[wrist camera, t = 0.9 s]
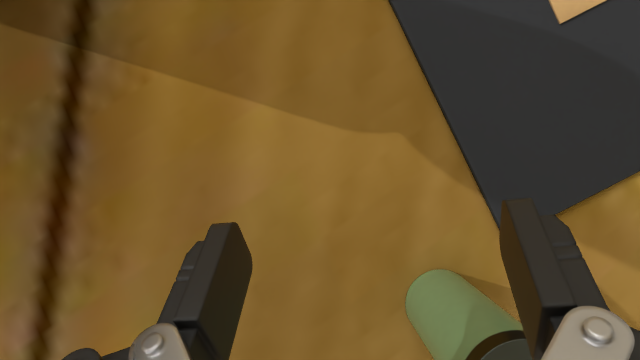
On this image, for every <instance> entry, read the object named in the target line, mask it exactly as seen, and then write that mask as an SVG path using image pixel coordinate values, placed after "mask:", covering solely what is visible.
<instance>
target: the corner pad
mask: <svg viewBox="0 0 640 360" xmlns="http://www.w3.org/2000/svg"><path fill="white" fill-rule="evenodd" d="M604 1H606V0H549V3H550V5H551V7H552V9H553V11H554V14H555V16H556V18H557V20H558V22H559V24H561V23H563V22H565V21H567V20H569V19H571V18H573V17H575V16H577V15H578V14H580V13H582V12H584V11H586V10H588V9H590V8H592V7H594V6H596V5H598V4H600V3H602V2H604Z"/></svg>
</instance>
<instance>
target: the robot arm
mask: <svg viewBox="0 0 640 360" xmlns="http://www.w3.org/2000/svg"><path fill="white" fill-rule="evenodd" d="M499 239H500V250H501V256H502V260H503V263H504V266H505V270H506V273H507V277H508V280H509V283H510V287H511V290H512V293H513V297H514V300H515V303H516V307H517V310H518V313H519V317H520V320H521V323H522V327H523V330H524V333H525V337H526V340H527V343H528V347H529V350H530V353H531V357H532V360H640V331H638V330H636V329H634V328H632V327H630V326H628V325H627V324H626V322H625V321H624V320H622V319H621V318H620V317H619V316H617V315H616V314H614V313H612V312H611V311H610V310H609V308H608V307H607V305H606V303H605V301H604V299H603V297H602V295H601V293H600V291H599V289H598V287H597V285H596V283H595V281H594V278H593V276H592V274H591V272H590V270H589V268H588V266H587V264H586V262H585V260H584V258H582V254H581V252H580V250H579V248H578V246H576V241H575V239H574V237H573V235H572V233H571V231H570V229H569V227H568V226H566V225H565V224H564V223H563V222H562V221H561V220H560V219H558V218H557V217H556V216H555V215H542V216H540V215H539V213H538V211H537V208H536V206H535V204H534V201H533V200H532V198H522V199H510V200H503V201H502V206H501V221H500V238H499ZM251 274H252V257H251V254H250V251H249V249H248V247H247V244H246V242H245V240H244V237H243V235H242V233H241V230H240V228H239V226H238V224H237V223H235V222H231V223H219V224H212V225H211V226H210V228H209V230H208V233H207V235H206V238H205V240H204V241H198V242H197V243H196V244H195V245H194V246H193V247H192V248H191V249H190V251H189V252H188V253H187V254H186V256H185V259H184V261H183V263H182V266H181V270H179V273H178V275H177V277H176V282H174V284H173V287H172V289H171V291H170V294H169V296H168V298H167V301H166V303H165V305H164V308H163V310H162V312H161V315H160V317H159V319H158V321H157V323H156V325H153V326H151V327H149V328H147V329H146V330H144V331H143V332H142V333H140V334H139V335H138V337H137V338H136V339H135V340H134V342H133V343H132V345H131V347H128V348H126V349H123V350H120V351H117V352H114V353H111V354H108V355H105V356H102V357H101V356H100V355H99V354H98V352H96V351H95V350H94V349H91V348H83V349H79V350H76V351H74V352H72V353H70V354H69V355H67V356H66V357H64V358H63V359H62V360H229V356H230V353H231V349H232V345H233V341H234V338H235V334H236V330H237V326H238V323H239V319H240V315H241V311H242V308H243V304H244V300H245V296H246V293H247V289H248V285H249V281H250V278H251Z"/></svg>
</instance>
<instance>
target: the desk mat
mask: <svg viewBox="0 0 640 360" xmlns="http://www.w3.org/2000/svg"><path fill="white" fill-rule="evenodd" d="M389 2H390V4H391V6H392V8H393V10H394V13H395V15H396V17H397V19H398V21H399V23H400V25H401V27H402V29H403V31H404V33H405V35H406V37H407V39H408V42H409V44H410V46H411V48H412V50H413V52H414V54H415V56H416V58H417V60H418V62H419V64H420V66H421V68H422V70H423V73H424V75H425V77H426V79H427V81H428V83H429V85H430V87H431V89H432V91H433V93H434V95H435V97H436V99H437V102H438V104H439V106H440V108H441V110H442V112H443V114H444V116H445V118H446V120H447V122H448V124H449V126H450V128H451V131H452V133H453V135H454V137H455V139H456V141H457V143H458V145H459V147H460V149H461V151H462V153H463V155H464V157H465V159H466V162H467V164H468V166H469V168H470V170H471V172H472V174H473V176H474V178H475V180H476V182H477V184H478V186H479V188H480V191H481V193H482V195H483V197H484V199H485V201H486V203H487V205H488V207H489V209H490V211H491V213H492V215H493V217H494V220H495V222H496V224H497V226H498V228H499V230H500V221H501V206H502V201H503V200H510V199H522V198H532V200H533V201H534V204H535V206H536V208H537V211H538V213H539V215H540V216H542V215H555V214H557V213H559V212H561V211H563V210H565V209H567V208H569V207H571V206H573V205H575V204H577V203H579V202H580V201H582V200H584V199H586V198H588V197H590V196H592V195H594V194H596V193H598V192H600V191H602V190H604V189H606V188H608V187H610V186H612V185H614V184H616V183H618V182H619V181H621V180H623V179H625V178H627V177H629V176H631V175H633V174H635V173H637V172H639V171H640V0H606V1H604V2H602V3H600V4H598V5H596V6H594V7H592V8H590V9H588V10H586V11H584V12H582V13H580V14H578V15H577V16H575V17H573V18H571V19H569V20H567V21H565V22H563V23H561V24H559V22H558V20H557V18H556V16H555V14H554V11H553V9H552V7H551V5H550V3H549V0H389Z"/></svg>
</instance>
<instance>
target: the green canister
mask: <svg viewBox="0 0 640 360" xmlns="http://www.w3.org/2000/svg"><path fill="white" fill-rule="evenodd" d="M405 307H406V313H407V316H408V318H409V320H410V322H411V323H412V325H413V327H414V328H415V330H416V331H417V333H418V335H419V336H420V338H421V339H422V341H423V342H424V344H425V346H426V347H427V349H428V350H429V352H430V353H431V355H432V357H433V358H434V360H532V357H531V353H530V350H529V347H528V343H527V340H526V337H525V333H524V330H523V327H522V324H521V323H520V322H519V321H517V320H516V319H515V318H514V317H512V316H511V315H510V314H508V313H507V312H506V311H505V310H503V309H502V308H501V307H499V306H498V305H497V304H496V303H494V302H493V301H492V300H491V299H489V298H488V297H487V296H485V295H484V294H483V293H482V292H480V291H479V290H478V289H476V288H475V287H474V286H473V285H471V284H470V283H469V282H467V281H466V280H465V279H464V278H462V277H461V276H460V275H458V274H456V273H454V272H452V271H449V270H442V269H440V270H432V271H429V272H426V273H424V274H422V275H421V276H419V277H418V278H417V279H416V280H415V281H414V282H413V283H412V285H411V286H410V288H409V290H408V293H407V296H406V302H405Z"/></svg>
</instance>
